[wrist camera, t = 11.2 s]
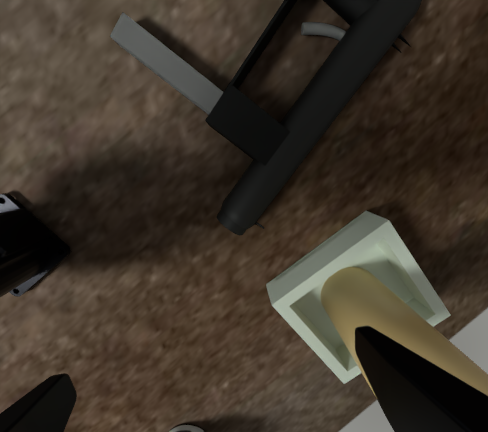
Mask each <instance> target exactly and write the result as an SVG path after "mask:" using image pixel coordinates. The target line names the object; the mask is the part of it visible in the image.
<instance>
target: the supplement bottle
mask: <svg viewBox="0 0 488 432" xmlns="http://www.w3.org/2000/svg"><path fill="white" fill-rule="evenodd" d="M169 432H204V431H203V430H202V429H201V428H199V427H196V426H192V425H181V426H177V427H175V428H173V429H172V430H170V431H169Z"/></svg>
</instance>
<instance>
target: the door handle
mask: <svg viewBox="0 0 488 432" xmlns="http://www.w3.org/2000/svg"><path fill="white" fill-rule="evenodd" d="M296 1H297V0H284V1H283V3H282V4H281V6H280V8H279V9H278V11H277V12H276V14H275V15H274V17H273V18H272V20H271V21H270V23H269V24H268V26H267V27H266V29H265V30H264V32H263V33H262V35H261V36H260V38H259V40H258V41H257V43H256V44H255V46H254V47H253V49H252V50H251V52H250V53H249V55H248V56H247V58H246V59H245V61H244V62H243V64H242V65H241V67H240V68H239V70H238V71H237V73H236V75H235V76H234V78H233V79H232V81H231V82H230V83H229V85H228V86H227V88H226V89H225V91H224V92H223V91H222V90H220V89H219V88H218V87H216V86H215V85H214V84H213V83H211V82H210V81H209V80H208V79H206V78H205V77H204V76H203V75H201V74H200V73H199V72H198V71H196V70H195V69H194V68H193V67H191V66H190V65H189V64H188V63H186V62H185V61H184V60H182V59H181V58H180V57H179V56H177V55H176V54H175V53H174V52H172V51H171V50H170V49H169V48H167V47H166V46H165V45H164V44H162V43H161V42H160V41H159V40H157V39H156V38H155V37H154V36H152V35H151V34H150V33H148V32H147V31H146V30H145V29H143V28H142V27H141V26H140V25H138V24H137V23H136V22H135V21H133V20H132V19H131V18H130V17H128V16H127V15H126V14H125V13H122V14H121V16H120V18H119V20H118V22H117V24H116V26H115V28H114V29H113V31H112V33H111V35H110V37H111V38H112V39H113V40H114V41H115V42H116V43H117V44H118V45H119V46H121V47H122V48H123V49H124V50H126V51H127V52H128V53H130V54H131V55H132V56H133V57H135V58H136V59H137V60H139V61H140V62H141V63H143V64H144V65H145V66H146V67H148V68H149V69H150V70H152V71H153V72H154V73H155V74H157V75H158V76H159V77H161V78H162V79H163V80H164V81H166V82H167V83H168V84H170V85H171V86H172V87H173V88H175V89H176V90H177V91H179V92H180V93H181V94H182V95H184V96H185V97H186V98H188V99H189V100H190V101H191V102H193V103H194V104H195V105H197V106H198V107H199V108H200V109H202V110H203V111H204V112H206V113H207V114H208V117H207V118H206V120H205V121H206V122H207V123H208V124H209V125H210V126H211V127H212V128H213V129H214V130H216V131H217V132H218V133H220V134H221V135H222V136H224V137H225V138H226V139H227V140H229V141H230V142H231V143H233V144H234V145H235V146H237V147H238V148H239V149H241V150H242V151H243V152H244V153H246V154H247V155H248V156H250V157H251V158H252V159H254V160H253V162H252V163H251V164H250V166H249V167H248V169H247V170H246V171H245V173H244V174H243V175H242V177H241V178H240V180H239V181H238V182H237V184H236V185H235V186H234V188H233V189H232V191H231V192H230V193H229V195H228V196H227V198H226V199H225V200H224V202H223V204H222V208H221V211H220V212H219V213H218V215H217V219H218V220H219V222H220V223H221V224H222V225H224V226H225V227H226V228H227V229H229V230H230V231H232V232H233V233H235V234H237V235H243V233H244V232H245V231H246V229H248V228H250V227H252V226H253V225H254V224H256V225H257V224H258V225H259V226H260V228H261V227H262V228H263V229H264V227H263V226H262V225H260V224H259V223H257V222H256V221H257V220H258V219H259V217H260V216H261V215H262V214H263V212H264V211H265V210H266V208H267V207H268V206H269V204H270V203H271V202H272V201H273V199H274V198H275V197H276V195H277V194H278V193H279V191H280V190H281V189H282V188H283V186H284V185H285V184H286V182H287V181H288V180H289V178H290V177H291V176H292V174H293V173H294V172H295V171H296V169H297V168H298V167H299V165H300V164H301V163H302V161H303V160H304V159H305V158H306V156H307V155H308V154H309V152H310V151H311V150H312V148H313V147H314V146H315V145H316V143H317V142H318V141H319V139H320V138H321V137H322V135H323V134H324V133H325V132H326V130H327V129H328V128H329V126H330V125H331V124H332V122H333V121H334V120H335V118H336V117H337V116H338V115H339V113H340V112H341V111H342V109H343V108H344V107H345V105H346V104H347V103H348V102H349V100H350V99H351V98H352V96H353V95H354V94H355V92H356V91H357V90H358V89H359V87H360V86H361V85H362V83H363V82H364V81H365V79H366V78H367V77H368V75H369V74H370V73H371V72H372V70H373V69H374V68H375V66H376V65H377V64H378V62H379V61H380V60H381V59H382V57H383V56H384V55H385V53H386V52H387V51H388V49H389V48H390V47H391V46H393V47H394V48H396V49H397V50H398V51H400V50H399V49H398V48H397V46H396V45H395V44H394V42H395V40H396V39H397V38H399V39H401V40H402V41H404V42H405V43H406V44H408V42H407V41H406V40H405V39H404V37H403V36H402V35H401V33H402V31H403V30H404V29H405V27H406V26H407V25H408V23H409V22H410V21H411V19H412V18H413V17H414V15H415V14H416V12H417V11H418V9H419V6H420V4H421V1H422V0H323V1H324V2H325V3H326V4H328V5H329V6H330V7H331V8H332V9H333V10H334V11H335V12H336V13H337V14H338V15H339V16H340V17H342V18H343V19H344V20H345V21H346V22H347V23H348V24H349V25H350V27H349V29H348V30H347V32H346V31H344V30H343V29H341V28H339V27H336V26H334V25H330V24H326V23H319V22H304V23H302V27H301V34H302V35H323V36H328V37H332V38H335V39H337V40H339V43H338V44H337V45H336V47H335V48H334V50H333V51H332V52H331V54H330V55H329V56H328V58H327V59H326V61H325V62H324V63H323V65H322V66H321V68H320V69H319V70H318V72H317V73H316V74H315V76H314V77H313V79H312V80H311V81H310V83H309V84H308V86H307V87H306V88H305V90H304V91H303V92H302V94H301V95H300V97H299V98H298V99H297V101H296V102H295V104H294V105H293V106H292V108H291V109H290V110H289V112H288V113H287V115H286V116H285V117H284V119H283V120H282V121H281V123H279V122H278V121H276V120H275V119H274V118H273V117H271V116H270V115H269V114H268V113H266V112H265V111H264V110H263V109H261V108H260V107H259V106H258V105H256V104H255V103H254V102H253V101H252V100H250V99H249V98H248V97H247V96H245V95H244V94H243V93H242V92H240V91H239V90H238V88H239V87H240V85H241V84H242V82H243V81H244V79H245V78H246V76H247V75H248V73H249V72H250V70H251V69H252V67H253V66H254V64H255V63H256V61H257V60H258V58H259V57H260V55H261V54H262V52H263V51H264V49H265V48H266V46H267V45H268V43H269V42H270V40H271V39H272V37H273V36H274V34H275V33H276V31H277V30H278V28H279V27H280V25H281V24H282V22H283V21H284V19H285V18H286V16H287V15H288V13H289V12H290V10H291V9H292V7H293V6H294V4H295V3H296ZM408 45H409V44H408ZM409 46H410V45H409ZM410 47H411V46H410ZM400 52H401V51H400ZM258 225H257V226H258Z"/></svg>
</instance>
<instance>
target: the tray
mask: <svg viewBox="0 0 488 432" xmlns="http://www.w3.org/2000/svg"><path fill="white" fill-rule="evenodd" d="M348 267H359V268H363V269H365V270H367V271H369V272H370V273H371V274H373V275H374V276H375V277H376V278H377V279H378V280H379V281H381V282H382V283H383V284H384V285H385V286H386V287H388V288H389V289H390V290H391V291H392V292H393V293H394V294H396V295H397V296H398V297H399V298H400V299H401V300H403V301H404V302H405V303H406V304H407V305H408V306H409V307H411V308H412V309H413V310H414V311H415V312H416V313H418V314H419V315H420V316H421V317H422V318H423V319H424V320H426V321H427V322H428V323H429V324H430V325H431V326H435V325H436V324H438V323H440V322H441V321H443V320H444V319H446V318H447V317H449V316H450V313H449V312H448V310H447V309H446V307H445V306H444V304H443V303H442V301H441V299H440V298H439V296H438V295H437V293H436V292H435V290H434V289H433V287H432V286H431V284H430V283H429V281H428V279H427V278H426V276H425V275H424V273H423V272H422V270H421V269H420V267H419V266H418V264H417V263H416V261H415V259H414V258H413V256H412V255H411V253H410V252H409V250H408V249H407V247H406V246H405V244H404V243H403V241H402V239H401V238H400V236H399V235H398V233H397V232H396V230H395V229H394V227H393V226H392V224H391V223H390V221H389V220H387V219H385V218H383V217H380V216H378V215H375V214H373V213H370V212H368V211H365V212H363V213H362V214H361V215H359V216H358V217H357V218H355V219H354V220H353V221H351V222H350V223H349V224H347V225H346V226H345V227H343V228H342V229H340V230H339V231H338V232H336V233H335V234H334V235H332V236H331V237H330V238H328V239H327V240H326V241H324V242H323V243H322V244H320V245H319V246H318V247H316V248H315V249H313V250H312V251H311V252H309V253H308V254H307V255H305V256H304V257H303V258H301V259H300V260H299V261H297V262H296V263H295V264H293V265H292V266H291V267H289V268H288V269H286V270H285V271H284V272H282V273H281V274H280V275H278V276H277V277H276V278H274V279H273V280H272V281H270V282H269V283H268V284H266V286H267V290H268V294H269V297H270V301H271V304H272V306H273V307H274V308H275V309H276V310H277V311H278V312H279V314H280V315H281V316H282V317H283V318H284V319H285V320H286V321H287V322H288V323H289V324H290V326H291V327H292V328H293V329H294V330H295V331H296V332H297V333H298V334H299V335H300V336H301V338H302V339H303V340H304V341H305V342H306V343H307V344H308V345H309V346H310V347H311V348H312V350H313V351H314V352H315V353H316V354H317V355H318V356H319V357H320V358H321V359H322V360H323V362H324V363H325V364H326V365H327V366H328V367H329V368H330V369H331V370H332V371H333V372H334V373H335V375H336V376H337V377H338V378H339V379H340V380H341V381H342V382H343V383H344V384H345V383H346V382H348V381H349V380H351V379H353V378H354V377H356V376H357V375H359V374H360V373H362V372H361V371H360V369H359V367H358V365H357V364H356V362H355V360H354V359H353V357H352V355H351V354H350V352H349V350H348V348H347V347H346V345H345V343H344V342H343V340H342V338H341V336H340V335H339V333H338V331H337V330H336V328H335V326H334V325H333V323H332V321H331V319H330V318H329V316H328V314H327V313H326V311H325V309H324V307H323V305H322V303H321V290H322V287H323V285H324V283H325V281H326V280H327V279H328V278H329V277H330V276H332V275H333V274H334V273H336V272H337V271H339V270H341V269H344V268H348Z"/></svg>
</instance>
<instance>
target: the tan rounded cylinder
mask: <svg viewBox="0 0 488 432" xmlns="http://www.w3.org/2000/svg"><path fill="white" fill-rule="evenodd" d="M321 303H322V305H323V307H324V309H325V311H326V313H327V314H328V316H329V318H330V319H331V321H332V323H333V325H334V326H335V328H336V330H337V331H338V333H339V335H340V336H341V338H342V340H343V342H344V343H345V345H346V347H347V348H348V350H349V352H350V354H351V355H352V357H353V359H354V360H355V362H356V364H357V365H358V367H359V369H360V371H361V372H362V374H363V376H364V377H365V379H366V381H367V383H368V384H369V386H370V388H371V389H372V387H371V385H370V383H369V381H368V378H367V376H366V374H365V372H364V370H363V368H362V366H361V364H360V361H359V359H358V357H357V355H356V351H355V328H357V327H361V326H370V327H372V328H374V329H376V330H377V331H379V332H381V333H383V334H384V335H386V336H388V337H389V338H391V339H393V340H394V341H396V342H398V343H399V344H401V345H403V346H404V347H406V348H408V349H410V350H411V351H413V352H415V353H416V354H418V355H420V356H421V357H423V358H425V359H426V360H428V361H430V362H432V363H433V364H435V365H437V366H438V367H440V368H442V369H443V370H445V371H447V372H448V373H450V374H452V375H454V376H455V377H457V378H459V379H460V380H462V381H464V382H465V383H467V384H469V385H470V386H472V387H474V388H476V389H477V390H479V391H481V392H482V393H484V394H486V395H487V396H488V374H487V373H486V372H484V371H483V370H482V369H481V368H480V367H479V366H477V365H476V364H475V363H474V362H473V361H472V360H471V359H469V358H468V357H467V356H466V355H465V354H464V353H462V352H461V351H460V350H459V349H458V348H457V347H455V346H454V345H453V344H452V343H451V342H450V341H449V340H448V339H446V338H445V337H444V336H443V335H442V334H441V333H439V332H438V331H437V330H436V329H435V328H434V327H433V326H431V325H430V324H429V323H428V322H427V321H426V320H424V319H423V318H422V317H421V316H420V315H419V314H418V313H416V312H415V311H414V310H413V309H412V308H411V307H409V306H408V305H407V304H406V303H405V302H404V301H403V300H401V299H400V298H399V297H398V296H397V295H396V294H394V293H393V292H392V291H391V290H390V289H389V288H388V287H386V286H385V285H384V284H383V283H382V282H381V281H379V280H378V279H377V278H376V277H375V276H374V275H373V274H371V273H370V272H369V271H367V270H365V269H363V268H359V267H348V268H344V269H341V270H339V271H337V272H336V273H334V274H333V275H332V276H330V277H329V278H328V279H327V280H326V281H325V283H324V285H323V287H322V290H321ZM372 391H373V389H372ZM373 393H374V391H373ZM374 394H375V393H374ZM375 396H376V395H375ZM376 398H377V397H376Z"/></svg>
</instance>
